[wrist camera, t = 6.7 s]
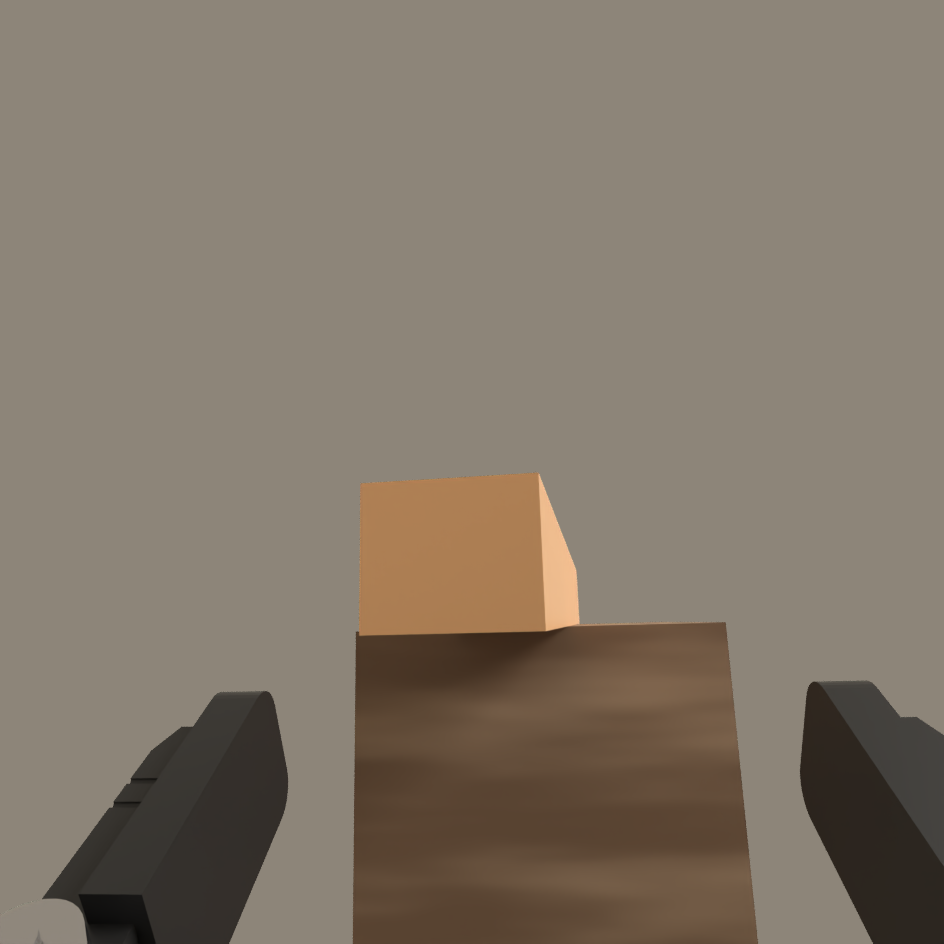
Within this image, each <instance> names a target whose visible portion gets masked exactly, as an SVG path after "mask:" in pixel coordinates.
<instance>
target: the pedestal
mask: <svg viewBox="0 0 944 944" xmlns="http://www.w3.org/2000/svg"><path fill="white" fill-rule="evenodd" d="M355 688H356V689H355V695H356V696H355V783H354V784H355V785H354V786H355V787H354V788H355V789H354V790H355V791H354V792H355V793H354V883H353V884H354V885H353V944H758V939H757V930H756V920H755V910H754V899H753V889H752V879H751V870H750V859H749V849H748V840H747V830H746V820H745V810H744V800H743V790H742V781H741V770H740V761H739V750H738V741H737V731H736V721H735V711H734V701H733V691H732V681H731V671H730V661H729V651H728V641H727V632H726V623H725V622H647V623H608V624H576V625H571V626H567V627H562V628H558V629H554V630H549V631H535V632H492V633H450V634H407V635H365V636H359V632H356V686H355Z"/></svg>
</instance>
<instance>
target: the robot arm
mask: <svg viewBox="0 0 944 944" xmlns="http://www.w3.org/2000/svg"><path fill="white" fill-rule="evenodd" d="M800 779H801V787H802V793H803V797H804V801H805V805H806V808H807V811H808V814H809V816H810V818H811V820H812V822H813V824H814V826H815V828H816V830H817V832H818V834H819V836H820V838H821V840H822V842H823V844H824V846H825V848H826V850H827V852H828V854H829V856H830V858H831V860H832V862H833V864H834V866H835V868H836V870H837V872H838V874H839V876H840V878H841V880H842V882H843V884H844V886H845V888H846V890H847V892H848V894H849V896H850V898H851V900H852V902H853V904H854V906H855V908H856V910H857V912H858V914H859V916H860V918H861V920H862V922H863V924H864V926H865V928H866V930H867V932H868V934H869V936H870V938H871V940H872V942H873V944H944V735H943V734H941V733H940V732H938V731H936V730H935V729H934V728H932V727H930V726H929V725H928V724H926V723H924V722H923V721H922V720H920V719H919V718H917V717H900V716H899V715H898V714H897V712H896V711H895V710H894V709H893V707H892V706H891V705H890V704H889V702H888V701H887V700H886V699H885V697H884V696H883V695H882V694H881V692H880V691H879V690H878V689H877V687H876V686H875V685H874V684H873V683H871V682H869V681H831V682H830V681H828V682H812V683H811V684H810V685H809V687H808V691H807V696H806V707H805V719H804V730H803V742H802V753H801V765H800ZM287 793H288V773H287V767H286V762H285V757H284V751H283V746H282V741H281V735H280V730H279V725H278V719H277V714H276V709H275V704H274V701H273V698H272V696H271V694H270V693H269V692H267V691H261V692H260V691H256V692H220V693H217V694H216V695H215V696H214V697H213V699H212V700H211V702H210V703H209V704H208V706H207V707H206V709H205V710H204V712H203V713H202V715H201V716H200V717H199V719H198V720H197V722H196V723H195V725H194V726H193V727H181V728H180V729H178V730H177V731H176V732H175V733H173V734H172V735H171V736H169V737H168V738H167V739H166V740H164V741H163V742H162V743H160V744H159V745H158V746H157V747H155V748H154V749H153V750H151V752H150V754H149V755H148V756H147V757H146V759H145V760H144V761H143V763H142V764H141V765H140V767H139V768H138V769H137V771H136V772H135V773H134V775H133V776H132V778H131V783H130V784H126V786H125V787H124V788H123V790H122V791H121V793H120V794H119V795H118V797H117V798H116V799H115V801H114V806H113V808H109V809H108V810H107V811H106V813H105V814H104V816H103V817H102V818H101V820H100V821H99V822H98V824H97V825H96V826H95V828H94V829H93V831H92V832H91V833H90V835H89V836H88V837H87V839H86V840H85V841H84V843H83V844H82V845H81V847H80V848H79V850H78V851H77V852H76V854H75V855H74V856H73V858H72V859H71V860H70V862H69V863H68V865H67V866H66V867H65V868H64V870H63V871H62V873H61V874H60V875H59V877H58V878H57V879H56V881H55V882H54V883H53V885H52V886H51V887H50V889H49V890H48V892H47V893H46V894H45V896H44V897H43V898H42V900H36V901H32V902H29V903H26V904H22V905H20V906H18V907H15V908H13V909H10V910H8V911H7V912H5V913H3V914H1V915H0V944H229V942H230V940H231V938H232V935H233V933H234V930H235V928H236V926H237V923H238V921H239V919H240V916H241V914H242V912H243V909H244V907H245V904H246V902H247V899H248V897H249V895H250V893H251V890H252V888H253V885H254V883H255V881H256V878H257V876H258V874H259V871H260V869H261V867H262V864H263V862H264V859H265V857H266V855H267V852H268V850H269V848H270V845H271V843H272V840H273V838H274V835H275V833H276V831H277V828H278V826H279V824H280V821H281V819H282V816H283V814H284V810H285V806H286V801H287Z"/></svg>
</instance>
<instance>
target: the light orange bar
mask: <svg viewBox="0 0 944 944" xmlns="http://www.w3.org/2000/svg"><path fill="white" fill-rule="evenodd" d="M360 492H361V493H360V598H359V599H360V600H359V636H365V635H407V634H450V633H492V632H535V631H549V630H554V629H558V628H562V627H567V626H571V625H576V624H579V607H578V589H577V573H576V569H575V566H574V563H573V561H572V558H571V556H570V553H569V550H568V548H567V545H566V543H565V540H564V537H563V535H562V532H561V530H560V527H559V525H558V523H557V519H556V517H555V514H554V512H553V509H552V506H551V504H550V501H549V499H548V496H547V493H546V491H545V488H544V486H543V483H542V481H541V478H540V475H539V473H524V474H508V475H492V476H476V477H459V478H443V479H426V480H409V481H393V482H378V483H377V482H376V483H361V490H360Z"/></svg>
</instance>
